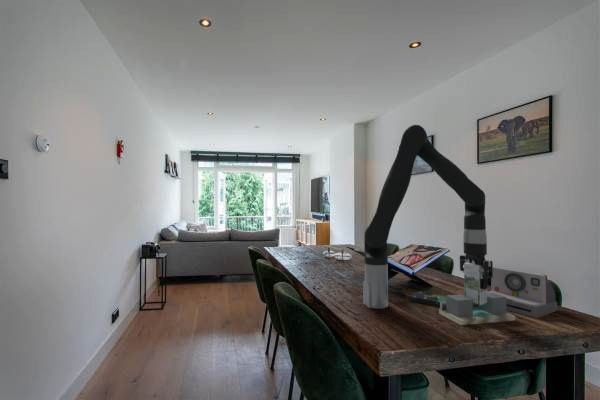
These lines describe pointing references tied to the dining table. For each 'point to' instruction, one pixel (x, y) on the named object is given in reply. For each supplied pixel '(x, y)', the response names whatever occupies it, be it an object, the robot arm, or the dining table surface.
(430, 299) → the disk drive
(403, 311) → the dining table surface
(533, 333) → the dining table surface
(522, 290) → the instant camera
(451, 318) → the board
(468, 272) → the syrup box
